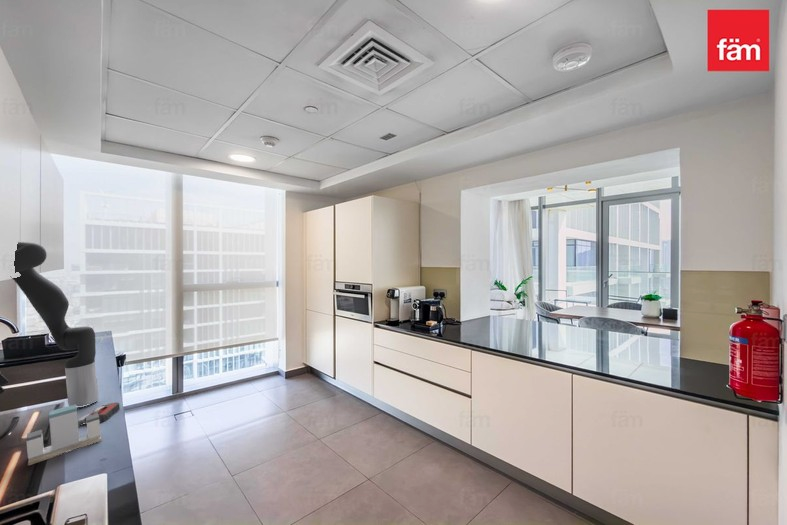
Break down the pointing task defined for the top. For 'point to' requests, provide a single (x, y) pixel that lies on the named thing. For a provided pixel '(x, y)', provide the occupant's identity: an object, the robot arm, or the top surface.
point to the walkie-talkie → (102, 412)
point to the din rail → (49, 449)
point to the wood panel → (62, 451)
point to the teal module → (64, 427)
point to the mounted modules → (36, 437)
